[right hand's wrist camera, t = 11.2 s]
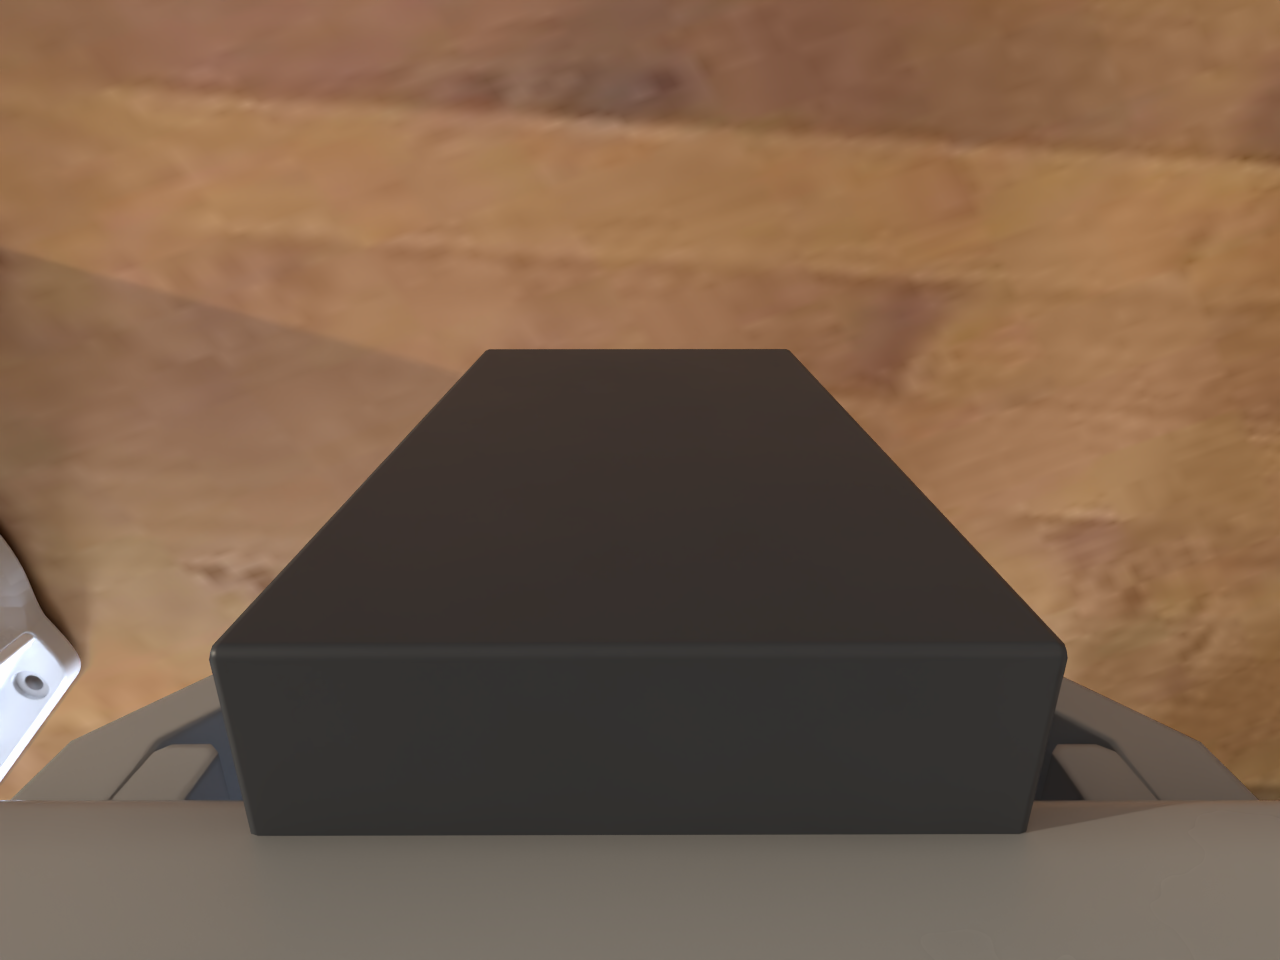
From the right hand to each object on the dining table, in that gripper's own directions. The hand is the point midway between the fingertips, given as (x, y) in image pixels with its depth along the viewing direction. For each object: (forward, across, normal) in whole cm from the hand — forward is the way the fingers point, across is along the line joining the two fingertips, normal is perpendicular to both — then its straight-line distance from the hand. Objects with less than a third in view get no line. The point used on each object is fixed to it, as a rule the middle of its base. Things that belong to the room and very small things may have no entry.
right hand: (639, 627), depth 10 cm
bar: (+3, 0, -10) cm, 11 cm away
